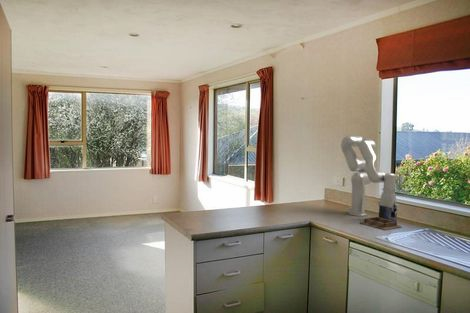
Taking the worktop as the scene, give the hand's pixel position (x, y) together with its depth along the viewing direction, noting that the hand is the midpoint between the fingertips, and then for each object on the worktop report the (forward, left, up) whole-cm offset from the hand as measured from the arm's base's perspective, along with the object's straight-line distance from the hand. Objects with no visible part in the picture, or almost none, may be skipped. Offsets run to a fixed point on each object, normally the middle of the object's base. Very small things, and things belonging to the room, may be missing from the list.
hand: (387, 215), depth 266 cm
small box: (0, 0, -4) cm, 4 cm away
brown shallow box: (+7, -16, -4) cm, 18 cm away
